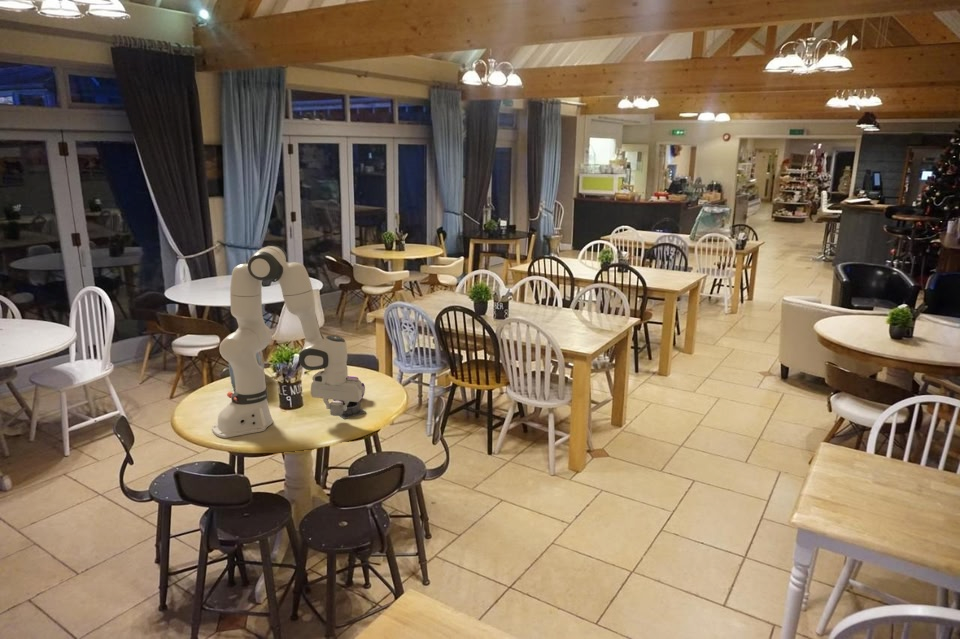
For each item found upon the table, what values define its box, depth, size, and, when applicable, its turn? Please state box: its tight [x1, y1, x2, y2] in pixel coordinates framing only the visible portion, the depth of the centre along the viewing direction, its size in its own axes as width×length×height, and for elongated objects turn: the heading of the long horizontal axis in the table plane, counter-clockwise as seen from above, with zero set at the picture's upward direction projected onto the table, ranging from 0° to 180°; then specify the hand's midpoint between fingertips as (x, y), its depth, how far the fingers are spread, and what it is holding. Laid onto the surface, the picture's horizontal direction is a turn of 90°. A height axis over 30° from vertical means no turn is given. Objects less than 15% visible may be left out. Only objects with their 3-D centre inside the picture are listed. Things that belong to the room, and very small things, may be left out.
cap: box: [329, 400, 343, 417], centre depth 259 cm, size 5×5×4 cm
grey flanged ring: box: [338, 401, 367, 420], centre depth 269 cm, size 10×10×4 cm
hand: (336, 409), depth 259 cm, fingers closed on cap, 5 cm apart
